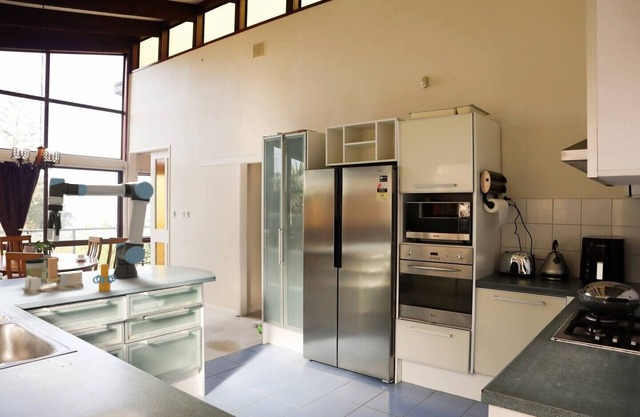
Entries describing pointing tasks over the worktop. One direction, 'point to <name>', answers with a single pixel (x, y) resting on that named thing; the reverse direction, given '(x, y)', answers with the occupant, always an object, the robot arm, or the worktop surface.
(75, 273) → the pale grey block
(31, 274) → the olive storage canister
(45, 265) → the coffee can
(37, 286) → the end socket
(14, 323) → the worktop surface
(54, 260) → the pink l-shaped block
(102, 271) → the orange post with rings
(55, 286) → the birch board
